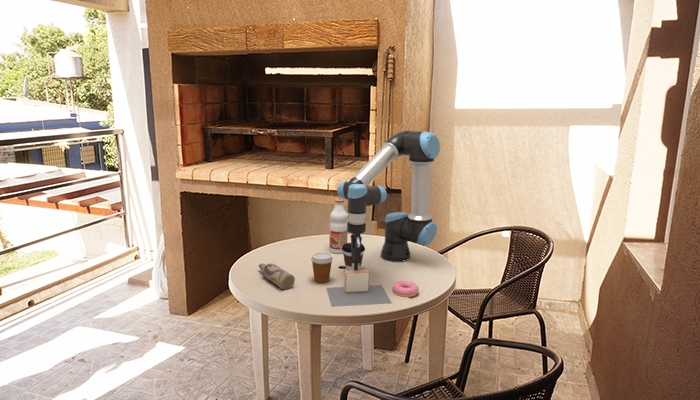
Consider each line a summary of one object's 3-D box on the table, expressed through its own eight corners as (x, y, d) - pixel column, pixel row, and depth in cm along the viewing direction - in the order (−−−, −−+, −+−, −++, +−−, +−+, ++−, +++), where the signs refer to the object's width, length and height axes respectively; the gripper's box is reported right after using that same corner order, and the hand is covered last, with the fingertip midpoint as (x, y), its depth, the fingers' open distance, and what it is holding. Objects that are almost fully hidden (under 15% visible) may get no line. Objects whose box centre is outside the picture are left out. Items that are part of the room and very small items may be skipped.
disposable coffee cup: (324, 287, 191) (324, 261, 188) (306, 282, 196) (306, 256, 193) (336, 280, 199) (337, 255, 196) (319, 276, 204) (319, 250, 201)
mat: (381, 286, 194) (381, 285, 194) (392, 304, 177) (392, 303, 176) (326, 289, 190) (326, 287, 190) (331, 308, 173) (331, 306, 172)
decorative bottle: (296, 287, 191) (295, 272, 190) (280, 291, 187) (280, 276, 185) (268, 269, 211) (268, 255, 210) (253, 272, 207) (253, 258, 205)
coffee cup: (336, 270, 211) (336, 245, 209) (352, 264, 219) (352, 240, 217) (353, 276, 204) (354, 251, 202) (369, 270, 212) (370, 246, 209)
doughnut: (386, 292, 189) (387, 282, 188) (405, 285, 195) (405, 276, 194) (405, 301, 180) (405, 291, 179) (423, 294, 187) (424, 285, 186)
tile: (367, 288, 189) (368, 269, 186) (368, 291, 187) (369, 272, 184) (343, 290, 187) (344, 270, 184) (344, 293, 185) (345, 273, 182)
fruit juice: (348, 253, 234) (349, 201, 228) (330, 254, 233) (331, 201, 227) (345, 248, 243) (346, 197, 237) (328, 248, 242) (329, 197, 236)
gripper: (345, 218, 188) (343, 271, 193) (350, 226, 176) (348, 283, 181) (362, 218, 190) (361, 270, 195) (368, 226, 177) (366, 282, 182)
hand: (355, 276), depth 188 cm, fingers closed
